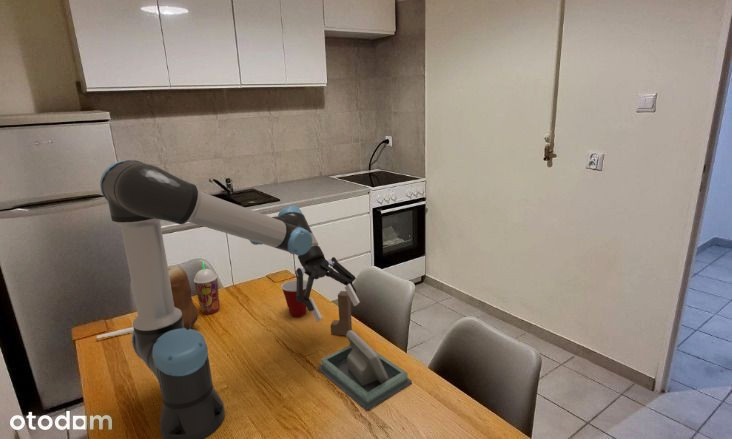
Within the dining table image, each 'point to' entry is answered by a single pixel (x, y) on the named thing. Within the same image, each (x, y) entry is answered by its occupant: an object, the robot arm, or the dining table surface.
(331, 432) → the dining table surface
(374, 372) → the digital clock
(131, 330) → the marker
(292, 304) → the plastic cup
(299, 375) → the dining table surface
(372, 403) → the keeper tray
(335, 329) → the wooden block
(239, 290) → the dining table surface
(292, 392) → the dining table surface
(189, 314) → the butternut squash
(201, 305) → the smoothie
